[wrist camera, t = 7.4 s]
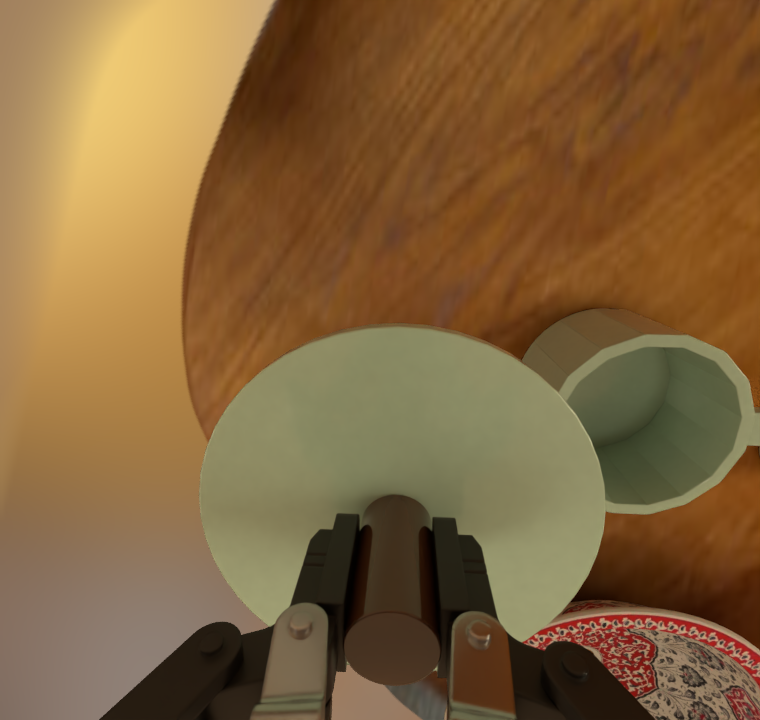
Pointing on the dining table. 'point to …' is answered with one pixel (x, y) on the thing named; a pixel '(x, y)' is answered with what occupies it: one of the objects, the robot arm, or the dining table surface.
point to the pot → (649, 405)
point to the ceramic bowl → (665, 658)
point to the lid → (403, 484)
